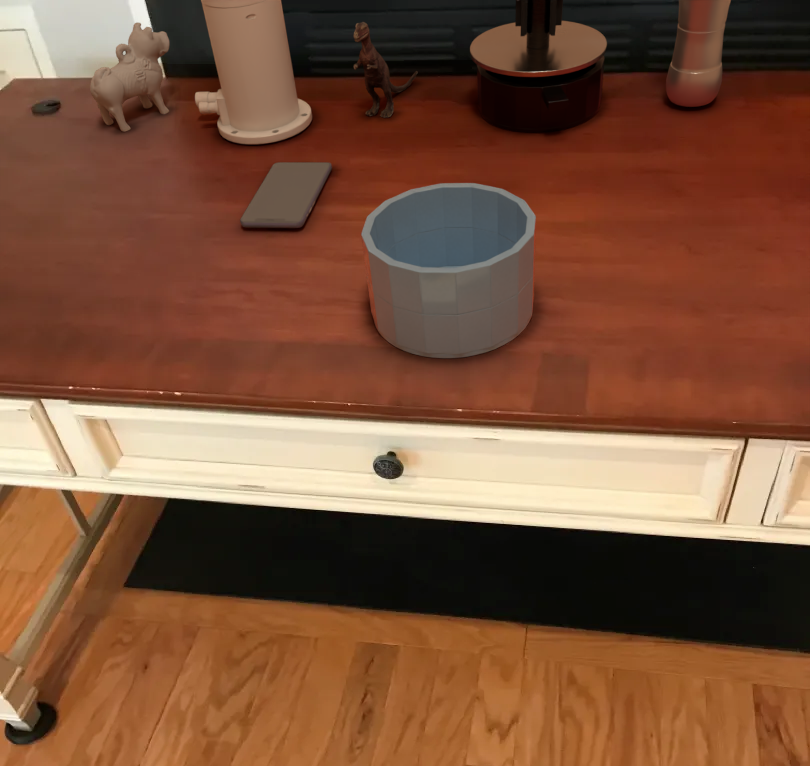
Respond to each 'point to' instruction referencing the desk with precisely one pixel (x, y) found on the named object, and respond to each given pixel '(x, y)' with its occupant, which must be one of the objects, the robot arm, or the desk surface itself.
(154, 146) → the desk surface
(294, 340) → the desk surface
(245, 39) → the robot arm
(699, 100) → the plastic bottle
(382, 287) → the pot
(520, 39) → the lid
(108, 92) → the dog figurine
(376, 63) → the dinosaur model
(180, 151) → the desk surface
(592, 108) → the pan
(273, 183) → the smartphone
